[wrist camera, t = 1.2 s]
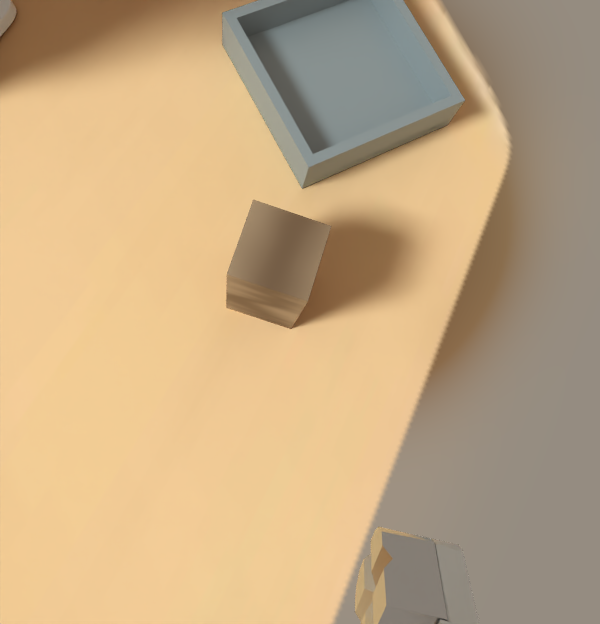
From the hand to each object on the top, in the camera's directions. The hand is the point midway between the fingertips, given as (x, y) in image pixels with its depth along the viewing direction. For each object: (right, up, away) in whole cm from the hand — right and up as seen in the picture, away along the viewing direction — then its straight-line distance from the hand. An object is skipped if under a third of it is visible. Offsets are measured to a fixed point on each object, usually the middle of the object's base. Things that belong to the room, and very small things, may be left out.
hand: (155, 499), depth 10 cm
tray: (+6, +22, +35) cm, 42 cm away
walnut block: (0, +5, +31) cm, 31 cm away
